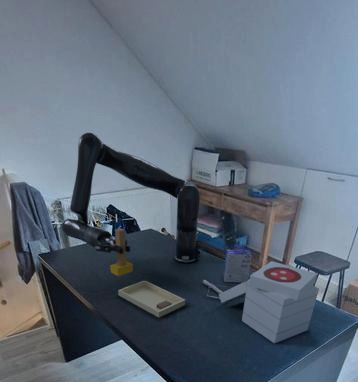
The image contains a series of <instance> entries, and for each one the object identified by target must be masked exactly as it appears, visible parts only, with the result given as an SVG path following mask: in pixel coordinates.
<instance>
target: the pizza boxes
mask: <svg viewBox="0 0 358 382" xmlns="http://www.w3.org/2000/svg"><path fill="white" fill-rule="evenodd" d="M317 277H318V272H313V271H310V270H306V269H302V268H300V267H299V268H298V267H294V266H291V265H287V264H283V263H280V262H276V261H273V260H271V261H270V262H268V263H267V264H265V265H264V266H262V267H261V268H259V269H258V270H256V271H255V272H253V273H251V274H249V278H248V281H246V282H243V283H239V284H237V285H235V286H233V287H231V288H229V289H227V290H225V291H222V292H223V293H221V294H219V293H218V298H219V300H220V303H221V304H224V303H227V302H230V301H233V300H237V299H239V298H244V304H243V309H242V316H241V322H242V323H244V324H246V325H247V326H249V327H250V328H251V329H253V330H254V331H256V332H257V333H258V334H260V335H262V336H263V337H265V338H266V339H267V340H269V341H270V342H271V343H273V344H276V343H279V342H282V341H284V340H287V339H289V338H291V337H293V336H294V337H295V336H296V335H299V334H302V333H304V332H306V331H309V326H310V322H311V320H312V316H313V311H314V309H315V305H316V301H317V298H318V294H319V291H320V288H319V287H317V286H315V284H316V281H317Z"/></svg>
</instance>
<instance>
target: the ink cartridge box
mask: <svg viewBox="0 0 358 382" xmlns="http://www.w3.org/2000/svg"><path fill="white" fill-rule="evenodd" d="M238 247H240V248H238ZM225 251H226V252H225V263H224V271H223V283H239V284H241V283H243V282H246V281H248V280H249V279H250V271H251V263H252V259H253V257H252V256H253V253H252V251H251V250H250V249H245V245H244V244H234V248H233V249H226V250H225Z"/></svg>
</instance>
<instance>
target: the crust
mask: <svg viewBox="0 0 358 382" xmlns="http://www.w3.org/2000/svg"><path fill="white" fill-rule="evenodd" d="M170 305H172V303H170V302H168V301H167V300H166V301H163V302H161V303H159V304H157V308H159V309H163V308H165V307H168V306H170Z"/></svg>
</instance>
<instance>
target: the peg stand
mask: <svg viewBox="0 0 358 382" xmlns="http://www.w3.org/2000/svg"><path fill="white" fill-rule="evenodd" d="M114 234H115V236H114V237H116V245H117V246H120V247H122V248H123V251H124V253H123V254H120V253H118V252H115V254H116V263H112V264H110V266H109V267H110V273H111V274H113V275H115V276H117V277H120V276H124V275H126V274H129V273H132V272H134V264H133V263H131V262H130V261H127V253H126V252H127V251H125V239H126V231H125V229H123V228H115V229H114Z"/></svg>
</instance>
